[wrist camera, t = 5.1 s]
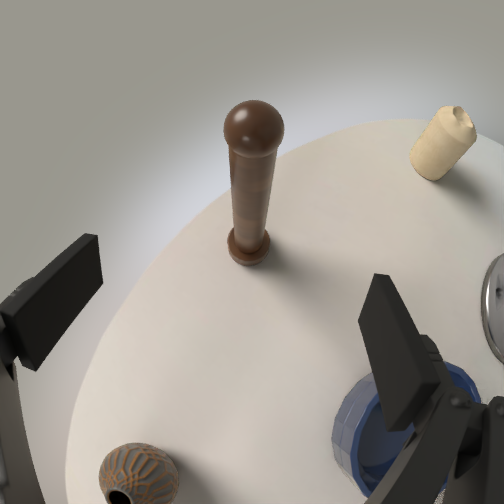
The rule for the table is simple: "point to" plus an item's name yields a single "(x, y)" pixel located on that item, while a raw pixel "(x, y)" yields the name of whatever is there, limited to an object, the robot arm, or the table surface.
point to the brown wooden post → (251, 176)
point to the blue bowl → (375, 433)
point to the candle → (443, 142)
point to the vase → (138, 475)
